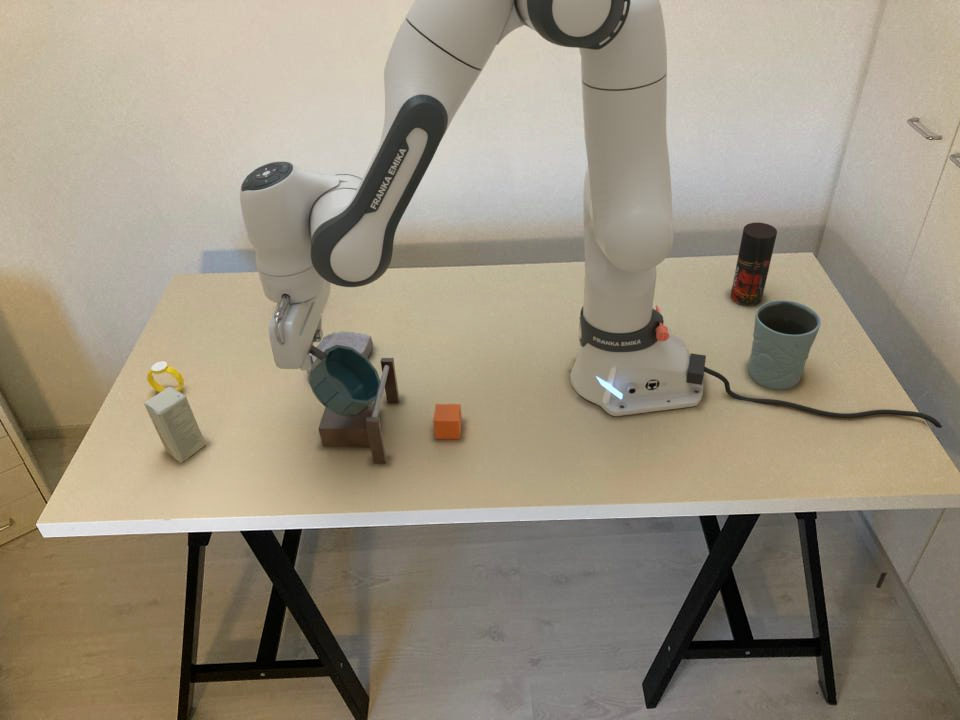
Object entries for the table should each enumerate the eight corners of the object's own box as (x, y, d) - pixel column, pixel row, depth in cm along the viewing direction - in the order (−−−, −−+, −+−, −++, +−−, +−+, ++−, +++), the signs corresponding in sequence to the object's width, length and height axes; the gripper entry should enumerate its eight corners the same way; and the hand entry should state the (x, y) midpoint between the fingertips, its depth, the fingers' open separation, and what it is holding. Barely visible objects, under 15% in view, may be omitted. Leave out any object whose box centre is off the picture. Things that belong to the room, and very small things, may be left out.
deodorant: (724, 292, 152) (737, 226, 143) (750, 286, 154) (765, 220, 144) (741, 308, 148) (755, 241, 138) (768, 302, 149) (783, 234, 140)
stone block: (307, 389, 138) (357, 386, 135) (298, 368, 135) (349, 364, 132) (331, 350, 147) (378, 347, 144) (322, 330, 144) (370, 326, 141)
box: (191, 434, 128) (172, 384, 121) (207, 445, 125) (187, 394, 118) (164, 452, 124) (142, 402, 117) (179, 464, 122) (158, 413, 115)
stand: (399, 398, 132) (393, 357, 126) (385, 463, 120) (378, 421, 115) (337, 398, 133) (328, 357, 127) (317, 462, 121) (306, 421, 115)
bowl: (374, 381, 128) (390, 366, 126) (361, 434, 119) (378, 418, 116) (298, 331, 122) (313, 315, 120) (278, 382, 113) (294, 365, 111)
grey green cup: (751, 392, 129) (764, 336, 122) (737, 355, 137) (749, 299, 130) (812, 391, 129) (829, 335, 121) (794, 354, 137) (810, 298, 129)
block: (460, 404, 124) (435, 403, 125) (458, 421, 121) (433, 421, 122) (461, 421, 127) (437, 421, 127) (459, 439, 124) (435, 438, 124)
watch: (189, 387, 137) (179, 361, 133) (183, 397, 135) (173, 371, 131) (157, 385, 138) (147, 360, 134) (151, 396, 136) (140, 370, 132)
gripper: (296, 320, 100) (317, 398, 109) (329, 239, 116) (345, 313, 124) (249, 320, 100) (274, 399, 109) (288, 240, 116) (307, 314, 125)
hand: (312, 353), depth 117 cm, fingers closed on bowl, 5 cm apart
